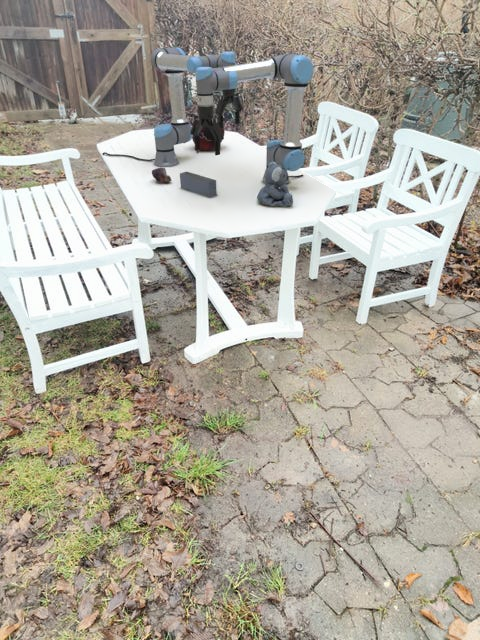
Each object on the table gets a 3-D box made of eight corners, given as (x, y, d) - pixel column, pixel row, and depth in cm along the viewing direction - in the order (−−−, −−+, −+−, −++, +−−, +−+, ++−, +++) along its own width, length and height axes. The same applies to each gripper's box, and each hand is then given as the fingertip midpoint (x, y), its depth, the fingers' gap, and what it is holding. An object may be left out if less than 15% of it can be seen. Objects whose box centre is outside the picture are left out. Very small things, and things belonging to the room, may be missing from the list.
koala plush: (294, 207, 227) (296, 168, 215) (258, 208, 226) (259, 169, 214) (288, 196, 241) (290, 158, 230) (255, 197, 240) (255, 159, 229)
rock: (166, 180, 269) (150, 182, 265) (164, 165, 265) (148, 167, 261) (173, 182, 260) (156, 184, 256) (171, 166, 256) (154, 169, 252)
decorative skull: (189, 124, 329) (187, 120, 305) (221, 116, 328) (220, 113, 305) (196, 154, 336) (194, 153, 312) (227, 147, 335) (227, 145, 311)
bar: (180, 188, 253) (179, 173, 249) (187, 186, 256) (186, 171, 252) (209, 197, 240) (209, 182, 235) (216, 195, 243) (216, 180, 239)
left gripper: (218, 87, 237) (219, 130, 249) (248, 82, 252) (248, 123, 265) (207, 86, 241) (209, 128, 253) (238, 81, 257) (238, 121, 269)
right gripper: (181, 103, 213) (184, 149, 225) (219, 109, 199) (220, 158, 211) (192, 101, 217) (195, 147, 229) (230, 107, 204) (231, 155, 216)
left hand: (229, 125), depth 259 cm, fingers open, 13 cm apart
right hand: (207, 152), depth 220 cm, fingers open, 13 cm apart
